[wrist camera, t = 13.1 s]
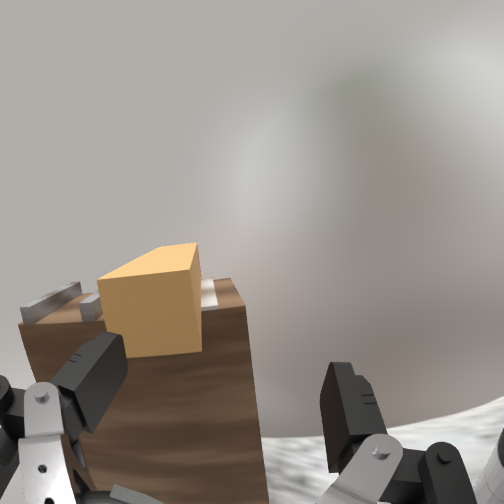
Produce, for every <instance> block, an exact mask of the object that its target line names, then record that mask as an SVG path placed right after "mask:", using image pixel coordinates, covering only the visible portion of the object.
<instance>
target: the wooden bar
mask: <svg viewBox="0 0 504 504" xmlns="http://www.w3.org/2000/svg"><path fill="white" fill-rule="evenodd" d="M97 284H98V290H99V295H100V300H101V306H102V311H103V315H104V320H105V324H106V329H107V332H112V333H116V334H120V335H122V337H123V340H124V346H125V352H126V357H127V358H133V357H148V356H161V355H172V354H183V353H192V352H201V351H202V330H201V270H200V262H199V253H198V245H197V243H188V244H180V245H171V246H163V247H159V248H157V249H155V250H153V251H151V252H149V253H147V254H145V255H143V256H141V257H139V258H137V259H135V260H133V261H131V262H129V263H127V264H125V265H124V266H122V267H120V268H118V269H116V270H115V271H112V272H110V273H109V274H107V275H105V276H103V277H101V278H99V279H97Z"/></svg>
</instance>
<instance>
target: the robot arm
mask: <svg viewBox="0 0 504 504" xmlns="http://www.w3.org/2000/svg"><path fill="white" fill-rule="evenodd" d="M127 372H128V362H127V357H126V352H125V346H124V340H123V337H122V335H120V334H116V333H112V332H107V331H103V332H102V333H101V334H100V335H99V336H98V337H97V338H96V339H95V340H94V341H93V340H90V341H89V342H87V343H85V344H83V345H81V346H80V348H79V349H78V350H77V351H76V352H75V353H74V355H72V357H71V358H70V359H69V361H67V362H66V363H65V364H64V366H63V367H62V368H61V369H60V370H59V371H58V373H57V374H56V375H55V376H54V377H53V378H52V380H51V381H50V382H49V383H48V382H38V383H35V384H33V385H31V386H30V387H29V388H28V389H27V390H23V389H16V388H11V386H10V384H9V382H8V380H7V379H6V377H4V376H1V375H0V425H1V428H0V499H1V497H2V495H3V493H4V491H5V489H6V488H7V486H8V484H9V482H10V480H11V478H12V476H13V474H14V473H15V471H16V469H17V467H18V466H19V464H20V469H21V478H22V485H23V490H24V497H25V502H26V504H164V503H162V502H160V501H158V500H156V499H154V498H152V497H150V496H148V495H146V494H143V493H140V492H137V491H134V490H130V489H127V488H124V487H121V486H118V485H116V484H114V486H113V489H112V491H97V488H96V486H95V484H94V482H93V480H92V478H91V476H90V472H89V469H88V466H87V462H86V459H85V455H84V451H83V447H82V443H81V439H80V437H79V435H80V433H81V432H82V431H85V432H88V433H90V434H93V433H94V431H95V429H96V427H97V426H98V424H99V422H100V420H101V419H102V417H103V415H104V414H105V412H106V410H107V409H108V407H109V405H110V404H111V402H112V400H113V398H114V397H115V395H116V393H117V392H118V390H119V389H120V387H121V385H122V384H123V382H124V380H125V379H126V376H127ZM320 410H321V416H322V423H323V431H324V438H325V446H326V454H327V462H328V470H329V473H339V477H338V478H337V479H336V481H335V482H334V483H333V484H332V485H331V486H330V487H329V488H328V489H327V490H326V492H325V493H324V494H323V495H322V496H321V498H320V499H319V500H318V501H317V502H316V503H315V504H377V502H378V501H379V502H388V503H391V504H504V429H503V431H502V433H501V435H500V438H499V440H498V442H497V444H496V446H495V449H494V451H493V453H492V455H491V457H490V459H489V461H488V463H487V465H486V467H485V468H484V470H483V472H482V474H481V476H480V477H479V479H478V481H477V483H476V484H475V486H474V488H472V485H471V482H470V479H469V477H468V474H467V471H466V468H465V466H464V463H463V460H462V458H461V455H460V453H459V451H458V450H457V448H456V447H454V446H453V445H451V444H449V443H446V442H437V443H434V444H432V445H431V446H430V447H429V448H428V449H427V450H426V451H420V450H412V449H406V448H403V447H402V446H401V444H400V443H399V441H398V440H397V439H395V438H394V437H392V436H390V435H388V433H387V431H386V428H385V425H384V422H383V419H382V416H381V413H380V410H379V407H378V404H377V401H376V398H375V396H374V393H373V390H372V387H371V384H370V383H369V382H368V381H367V380H366V379H365V378H364V377H363V376H362V375H361V376H360V375H355V374H354V371H353V368H352V365H351V363H350V362H331V363H330V364H329V367H328V370H327V373H326V377H325V380H324V383H323V386H322V390H321V394H320Z"/></svg>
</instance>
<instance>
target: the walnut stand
mask: <svg viewBox="0 0 504 504" xmlns="http://www.w3.org/2000/svg"><path fill="white" fill-rule="evenodd" d="M20 310H21V314H22V318H23V322H22V323H20V324H18V326H19V329H20V334H21V337H22V341H23V344H24V347H25V350H26V354H27V357H28V360H29V363H30V366H31V369H32V372H33V374H34V377H35V380H36V382H37V383H38V382H48V383H49V382H50V381H51V380H52V378H53V377H54V376H55V375H56V374H57V373H58V371H59V370H60V369H61V368H62V367H63V366H64V364H65V363H66V362H67V361H69V359H70V358H71V357H72V355H74V353H75V352H76V351H77V350H78V349H79V348H80V346H81V345H83V344H85V343H87V342H89V341H90V340H93V341H94V340H95V339H96V338H97V337H98V336H99V335H100V334H101V333H102V332H103V331H107V329H106V324H105V320H104V315H103V311H102V306H101V300H100V295H99V290H98V291H96V292H95V293H87V294H82V290H81V285H80V282H72V283H70V284H67V285H65V286H63V287H61V288H59V289H57V290H55V291H53V292H51V293H49V294H46V295H44V296H42V297H40V298H38V299H36V300H34V301H32V302H30V303H28V304H26V305H24V306H22V307H20ZM201 330H202V351H201V352H192V353H183V354H172V355H161V356H148V357H133V358H127V362H128V372H127V376H126V379H125V380H124V382H123V384H122V385H121V387H120V389H119V390H118V392H117V393H116V395H115V397H114V398H113V400H112V402H111V404H110V405H109V407H108V409H107V410H106V412H105V414H104V415H103V417H102V419H101V420H100V422H99V424H98V426H97V427H96V429H95V431H94V433H93V434H90V433H88V432H85V431H82V432H81V433H80V435H79V437H80V439H81V443H82V447H83V451H84V455H85V459H86V462H87V466H88V469H89V472H90V476H91V478H92V480H93V482H94V484H95V486H96V488H97V491H112V489H113V486H114V484H116V485H118V486H121V487H124V488H127V489H130V490H134V491H137V492H140V493H143V494H146V495H148V496H150V497H152V498H154V499H156V500H158V501H160V502H162V503H164V504H269V497H268V490H267V482H266V475H265V467H264V459H263V451H262V443H261V435H260V427H259V419H258V412H257V403H256V395H255V386H254V377H253V369H252V360H251V352H250V343H249V334H248V325H247V316H246V308H245V304H244V302H243V300H242V299H241V297H240V295H239V293H238V292H237V289H236V288H235V286H234V284H233V282H232V280H231V278H226V279H218V280H213V278H204V279H201Z"/></svg>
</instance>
